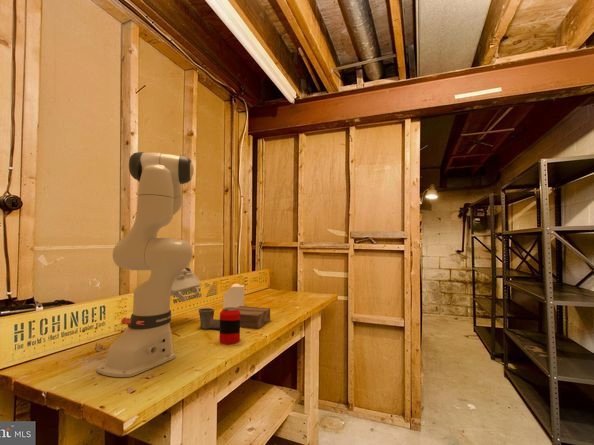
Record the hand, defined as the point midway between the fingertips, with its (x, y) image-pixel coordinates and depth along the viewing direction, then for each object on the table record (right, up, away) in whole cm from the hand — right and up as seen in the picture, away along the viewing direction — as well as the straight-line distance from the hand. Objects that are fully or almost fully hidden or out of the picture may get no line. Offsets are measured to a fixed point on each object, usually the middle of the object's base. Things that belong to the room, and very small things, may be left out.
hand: (192, 298), depth 129 cm
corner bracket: (+11, -14, +36) cm, 40 cm away
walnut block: (+24, -13, +4) cm, 28 cm away
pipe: (+9, -12, -4) cm, 16 cm away
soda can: (+21, -12, -19) cm, 30 cm away
